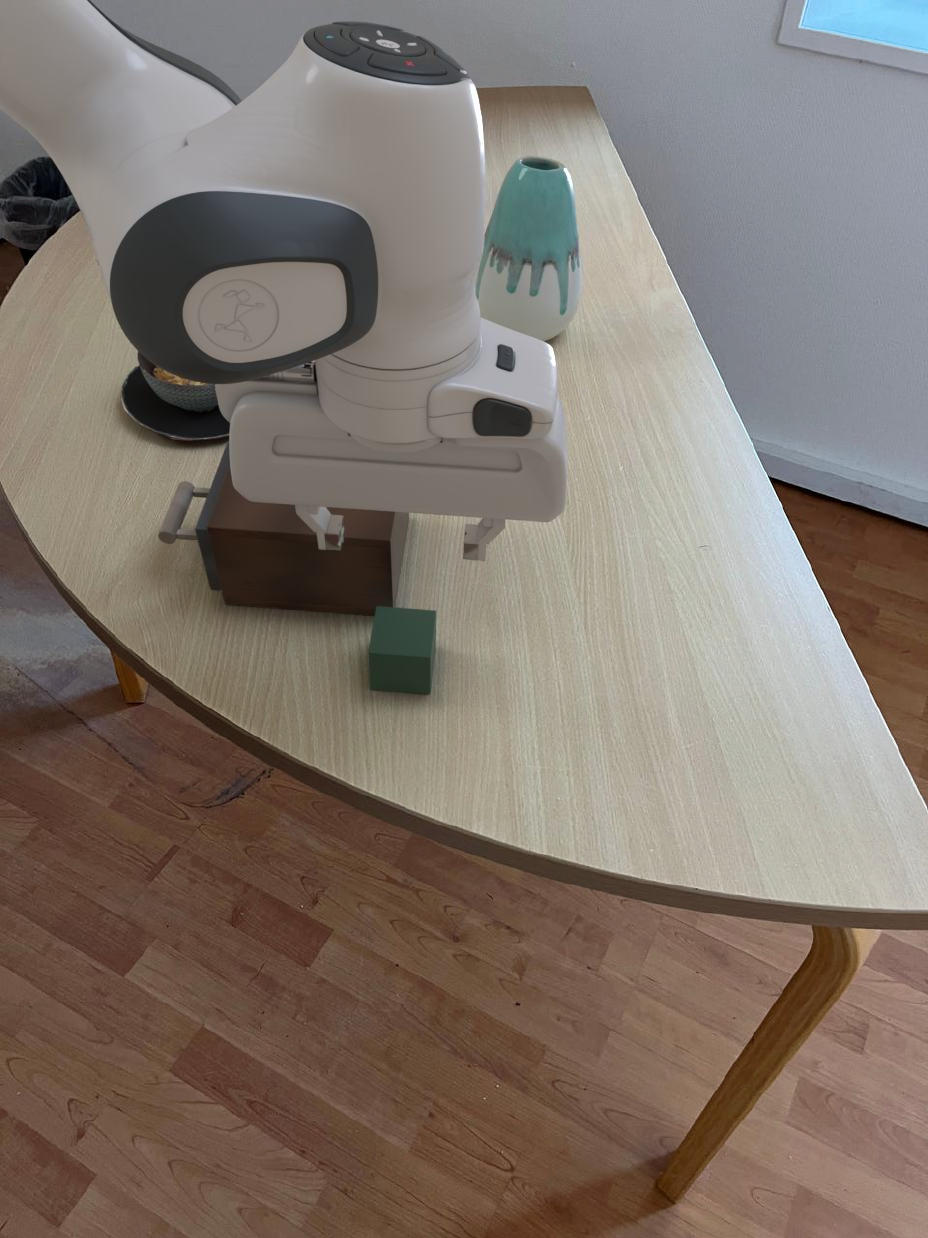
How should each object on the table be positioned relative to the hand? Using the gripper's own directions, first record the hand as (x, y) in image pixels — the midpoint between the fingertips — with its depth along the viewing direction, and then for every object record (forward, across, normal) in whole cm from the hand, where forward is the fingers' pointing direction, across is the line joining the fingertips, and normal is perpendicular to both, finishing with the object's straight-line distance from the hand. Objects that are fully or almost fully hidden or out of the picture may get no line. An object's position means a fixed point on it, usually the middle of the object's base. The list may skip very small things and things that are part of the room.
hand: (403, 548), depth 61 cm
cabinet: (+13, -8, +11) cm, 19 cm away
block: (+13, 0, 0) cm, 13 cm away
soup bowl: (+13, -24, +32) cm, 42 cm away
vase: (+13, +8, +49) cm, 51 cm away
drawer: (+12, -12, +11) cm, 20 cm away
